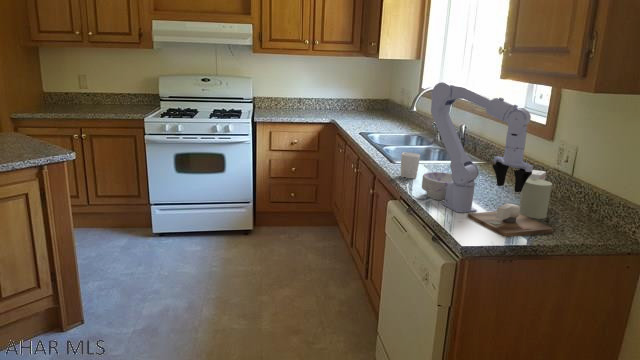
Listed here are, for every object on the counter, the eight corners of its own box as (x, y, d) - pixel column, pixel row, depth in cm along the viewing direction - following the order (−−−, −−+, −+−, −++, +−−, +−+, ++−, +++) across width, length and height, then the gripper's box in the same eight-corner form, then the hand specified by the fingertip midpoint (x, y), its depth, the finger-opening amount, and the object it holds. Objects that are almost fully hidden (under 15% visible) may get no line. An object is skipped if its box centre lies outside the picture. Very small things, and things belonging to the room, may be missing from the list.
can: (538, 210, 167) (544, 177, 164) (551, 219, 158) (558, 184, 155) (513, 209, 167) (518, 176, 164) (524, 218, 158) (530, 183, 155)
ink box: (528, 199, 181) (533, 169, 177) (541, 202, 178) (547, 171, 175) (521, 203, 174) (526, 172, 171) (534, 206, 171) (540, 175, 168)
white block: (506, 211, 153) (508, 201, 152) (521, 215, 150) (523, 205, 149) (491, 216, 147) (493, 206, 146) (506, 221, 144) (508, 210, 143)
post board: (467, 216, 156) (468, 208, 155) (511, 213, 162) (512, 205, 161) (504, 237, 140) (506, 227, 139) (552, 232, 146) (554, 223, 145)
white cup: (421, 178, 203) (423, 155, 200) (405, 179, 200) (407, 156, 197) (411, 174, 210) (413, 152, 207) (395, 175, 207) (397, 152, 204)
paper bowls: (452, 206, 167) (455, 184, 165) (413, 196, 176) (415, 176, 174) (468, 197, 178) (471, 177, 176) (431, 189, 187) (433, 169, 185)
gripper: (488, 143, 155) (483, 183, 158) (523, 152, 142) (516, 195, 145) (505, 142, 157) (499, 182, 161) (540, 151, 144) (533, 193, 148)
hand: (509, 188), depth 153 cm, fingers open, 7 cm apart
